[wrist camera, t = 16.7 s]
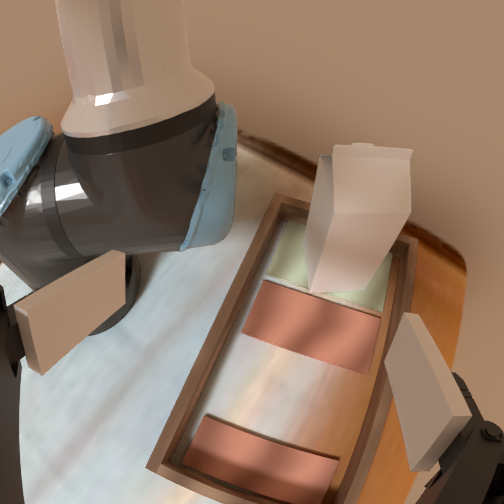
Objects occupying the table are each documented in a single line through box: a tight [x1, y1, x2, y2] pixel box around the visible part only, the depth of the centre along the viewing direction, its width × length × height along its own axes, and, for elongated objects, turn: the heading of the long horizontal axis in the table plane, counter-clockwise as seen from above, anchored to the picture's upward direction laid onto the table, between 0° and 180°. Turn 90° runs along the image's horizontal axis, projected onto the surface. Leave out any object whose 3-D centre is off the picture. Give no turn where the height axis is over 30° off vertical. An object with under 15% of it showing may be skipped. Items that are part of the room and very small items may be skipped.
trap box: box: [145, 193, 418, 504], centre depth 32 cm, size 20×36×4 cm, turn 158°
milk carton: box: [303, 143, 413, 293], centre depth 31 cm, size 7×7×19 cm
